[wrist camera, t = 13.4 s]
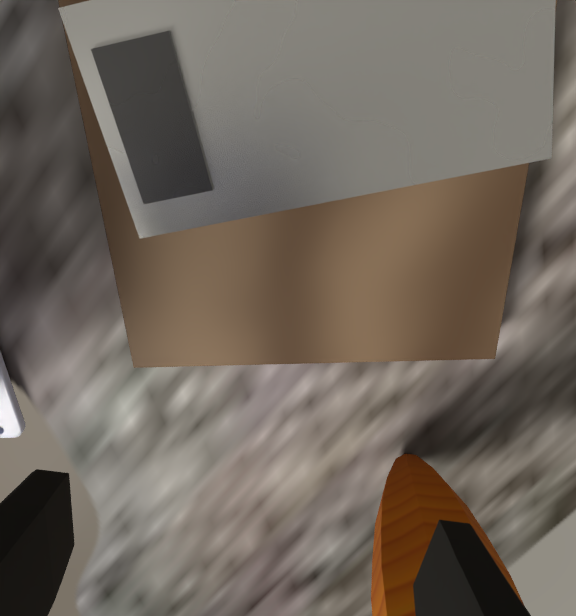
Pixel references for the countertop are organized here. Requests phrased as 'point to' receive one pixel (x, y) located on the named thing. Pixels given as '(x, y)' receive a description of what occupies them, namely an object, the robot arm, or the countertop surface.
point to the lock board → (317, 273)
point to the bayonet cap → (308, 98)
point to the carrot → (413, 532)
